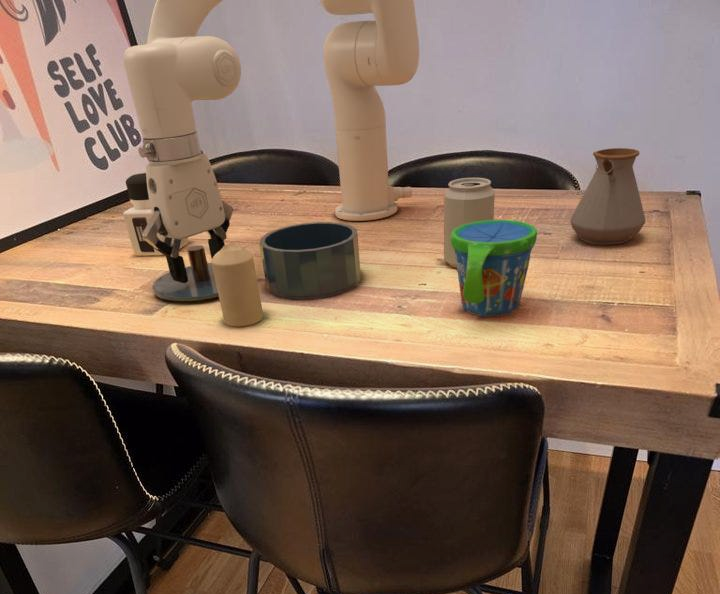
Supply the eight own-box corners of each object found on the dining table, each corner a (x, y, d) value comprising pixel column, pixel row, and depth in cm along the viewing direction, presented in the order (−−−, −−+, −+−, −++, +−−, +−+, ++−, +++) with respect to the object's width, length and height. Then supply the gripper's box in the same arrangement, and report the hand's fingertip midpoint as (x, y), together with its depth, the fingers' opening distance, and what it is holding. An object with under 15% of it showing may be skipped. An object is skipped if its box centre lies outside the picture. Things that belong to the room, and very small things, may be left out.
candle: (226, 313, 93) (211, 242, 87) (264, 309, 93) (251, 238, 87) (222, 329, 88) (206, 255, 82) (262, 324, 88) (249, 250, 82)
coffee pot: (574, 226, 113) (586, 130, 104) (645, 229, 109) (663, 129, 100) (550, 267, 98) (561, 158, 89) (631, 272, 93) (651, 158, 84)
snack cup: (478, 283, 94) (481, 210, 88) (549, 293, 89) (556, 216, 83) (428, 323, 84) (426, 244, 78) (504, 337, 79) (509, 253, 73)
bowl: (343, 260, 108) (339, 216, 104) (374, 287, 96) (371, 239, 92) (258, 277, 104) (250, 232, 100) (280, 306, 93) (272, 258, 89)
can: (495, 255, 104) (499, 174, 97) (487, 271, 98) (490, 187, 91) (449, 254, 106) (450, 175, 99) (438, 269, 100) (438, 187, 93)
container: (172, 255, 117) (153, 178, 110) (133, 256, 119) (112, 180, 111) (189, 242, 123) (172, 168, 116) (152, 243, 125) (133, 170, 117)
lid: (242, 263, 111) (235, 227, 107) (262, 292, 99) (255, 252, 95) (149, 280, 107) (139, 244, 103) (159, 312, 95) (148, 272, 91)
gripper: (136, 163, 84) (170, 295, 94) (237, 138, 94) (257, 260, 105) (104, 160, 88) (141, 287, 99) (204, 136, 98) (227, 253, 109)
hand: (201, 272), depth 102 cm, fingers open, 7 cm apart
